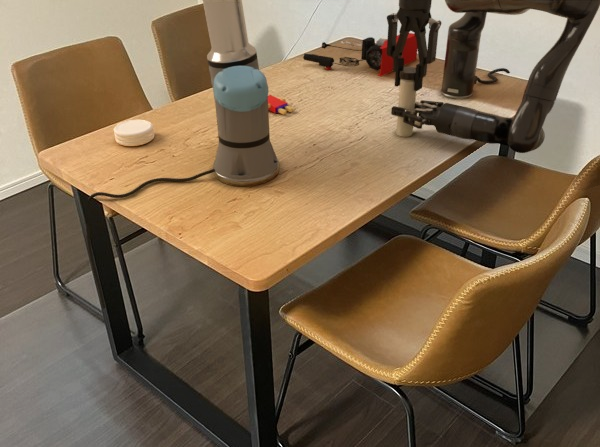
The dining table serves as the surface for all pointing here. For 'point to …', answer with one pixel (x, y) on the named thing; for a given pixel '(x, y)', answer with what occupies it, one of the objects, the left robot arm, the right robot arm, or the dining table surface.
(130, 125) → the white short cylinder
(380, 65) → the electric hoist
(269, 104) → the toy figure
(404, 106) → the beige long cylinder
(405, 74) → the lid
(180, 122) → the dining table surface
